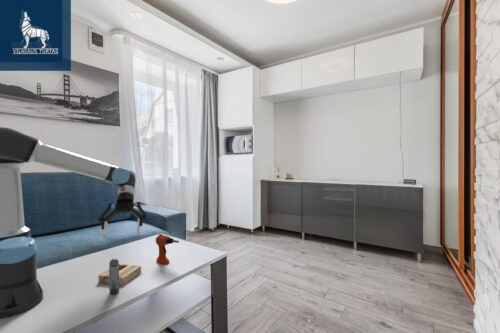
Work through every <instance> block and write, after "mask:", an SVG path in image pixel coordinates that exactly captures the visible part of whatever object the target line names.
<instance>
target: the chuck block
mask: <svg viewBox="0 0 500 333" xmlns="http://www.w3.org/2000/svg"><path fill="white" fill-rule="evenodd" d="M141 273H142V266H141V265H137V264H127V263H126V264H124V263H119V286H120V285H121V286H124V285H125V284H126V283H128V282H129V281H131V280H132V279H133V278H135V277H137V276H138V275H139V274H141ZM98 283H101V284H109V269H107V270H106V271H104V272H102V273H100V274H99V275H98Z"/></svg>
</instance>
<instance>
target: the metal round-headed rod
mask: <svg viewBox="0 0 500 333" xmlns="http://www.w3.org/2000/svg"><path fill="white" fill-rule="evenodd" d="M119 264H120V261H119V259H118V258H112V259H111V260H110V261H109V264H108V265H109V267H108V270H109V283H108V284H109V288H108V289H109V295H110V296H115V295H118V294H119V293H120V285H119Z"/></svg>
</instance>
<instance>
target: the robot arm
mask: <svg viewBox="0 0 500 333" xmlns="http://www.w3.org/2000/svg"><path fill="white" fill-rule="evenodd" d="M32 162H34V163H37V164H42V165H45V166H49V167H52V168H57V169H60V170H65V171H68V172H72V173H75V174H79V175H84V176H87V177H91V178H94V179H98V180H99V181H101V182H102V181H103V182H104V183H108V184H111V185H115V186H118V190H117V196H116V203H115V204H112V203H109V204H108V205H107V207H106V208H105V210H104V211H103V213H102V214H101V215H100V216H99V217H98V218H97V220H98V224H101V230H102V236H103V238H107V232H108V225H109V223H108V222H109V221H112V219H113V218H114V217H115V216H117V215H119V214H120V213H121V214H123V213H129V212H130V214H132V215H133V216H135V218H137V224H136V226H137V227H136V234H138V235H139V234H140V227H143V220H147V218H148V217H147V214H146V212H145V211H144V210H143V208H142V206H141V202H140V201H137V202H135V201H134V200H135V188H136V182H137V178H136V173H135V172H134V171H133V170H131V169H130V170H129V169H127V168H125V167H121V166H120V167H118V166H116V165H113V164H110V163H107V162H104V161H101V160H98V159H97V160H96V159H94V158H91V157H87V156H84V155H82V154H77V153H74V152H72V151H68V150H66V149H62V148H59V147H56V146H52V145H49V144H46V143H44V142H43V143H42V142H41V140H40V139H39V138H35V137H34V136H30V135H28V134H25V133H22V132H20V131H18V130H15V129H13V128H9V127H2V126H1V127H0V319H3V318H7V317H12V316H15V315H18V314H20V313H21V314H22V313H23V312H25V311H28V310H30V309H32V308H34V307H36V306H38V305H39V304H40V303H41V302H42V300H43V299H44V290H43V289H42V287H41V285H40V283H39V281H38V279H37V278H38V276H37V275H38V274H37V270H38V268H37V249H38V245H37V240H35V239H34V238H33V237H32V236H31V228H29V227H28V226H26V225H25V212H24V200H23V188H22V177H21V167H23V166H24V165H25V164H28V163H32ZM134 207H135V208H137V209H138V211H139V213H138V211H136V210H135V209H134Z"/></svg>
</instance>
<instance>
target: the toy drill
mask: <svg viewBox="0 0 500 333" xmlns="http://www.w3.org/2000/svg"><path fill="white" fill-rule="evenodd" d="M179 242H180V241H179V240H175V239H174V238H172V237H170V236H168V235H165V234H162V233H159V234H158V235H157V236H156V237H155V244H156V245H157V246H158V257H156V261H155V262H156V263H157V264H158V265H161V266H165V265H168V264H169V263H170V260H169V259H168V257H167V249H166V245H170V244H173V243H177V244H179Z"/></svg>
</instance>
